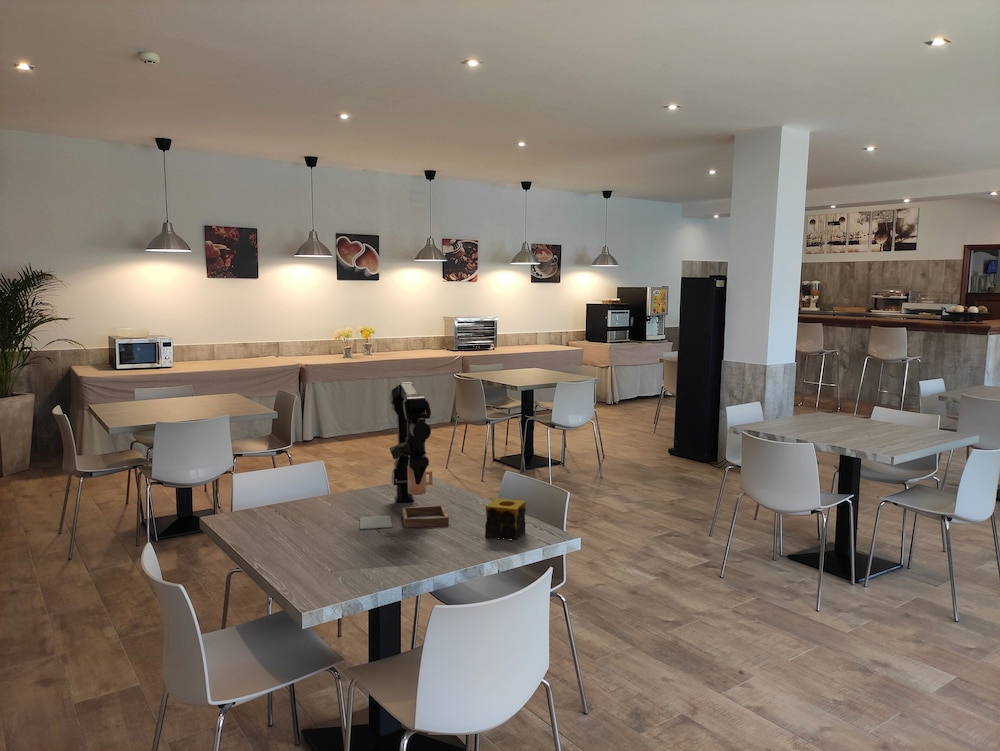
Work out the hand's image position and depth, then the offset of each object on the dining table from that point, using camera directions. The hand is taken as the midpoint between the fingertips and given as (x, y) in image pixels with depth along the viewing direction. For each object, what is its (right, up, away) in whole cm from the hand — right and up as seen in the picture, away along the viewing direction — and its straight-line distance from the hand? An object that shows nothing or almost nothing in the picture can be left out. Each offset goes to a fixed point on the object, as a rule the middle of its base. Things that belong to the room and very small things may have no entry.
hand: (416, 481), depth 236 cm
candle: (+29, -15, -13) cm, 35 cm away
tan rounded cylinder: (0, -4, 0) cm, 4 cm away
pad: (-13, -13, -1) cm, 19 cm away
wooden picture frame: (+2, -13, +2) cm, 13 cm away
